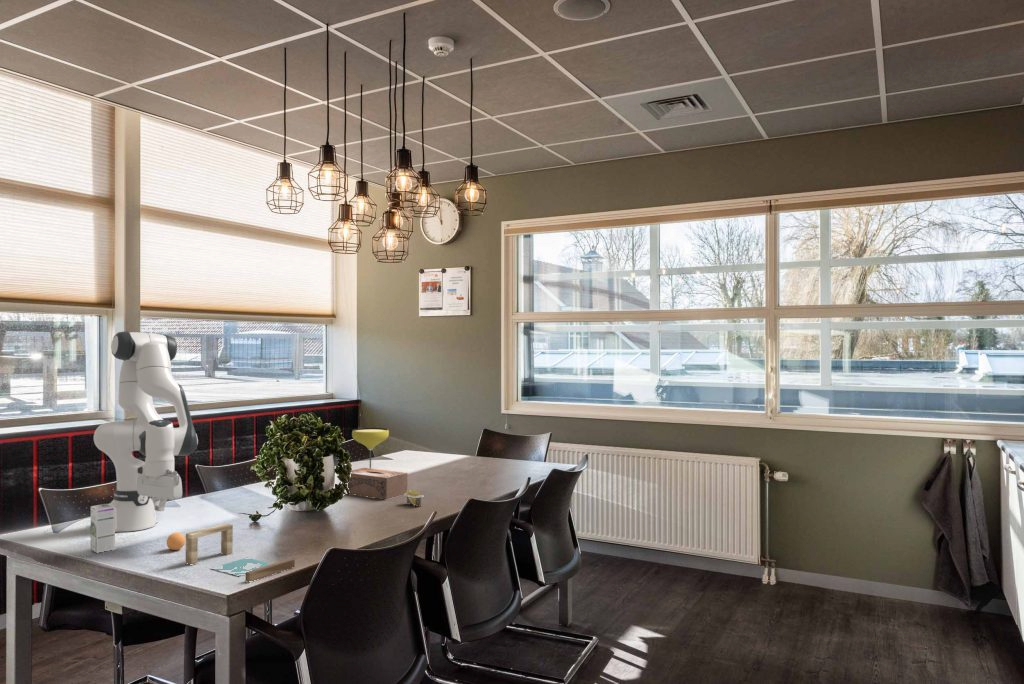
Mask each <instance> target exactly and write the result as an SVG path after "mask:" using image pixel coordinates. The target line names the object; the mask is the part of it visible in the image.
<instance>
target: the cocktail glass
mask: <svg viewBox="0 0 1024 684" xmlns="http://www.w3.org/2000/svg"><path fill="white" fill-rule="evenodd" d="M389 435H390V431H389V429H387V428H385V427H384V428H382V427H361V428H360V427H359V428H354V429H352V432H351V437H352V439H353V440H354V441H356V442H357V443H359V444H361V445H363V446H365V447H366V448H367V450H368V451H369V468H371V469H372V451H373V450H374V448H375V447H376V446H377V445H379V444H380V443H384V441H386V440H387V439H388V438H389Z"/></svg>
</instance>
